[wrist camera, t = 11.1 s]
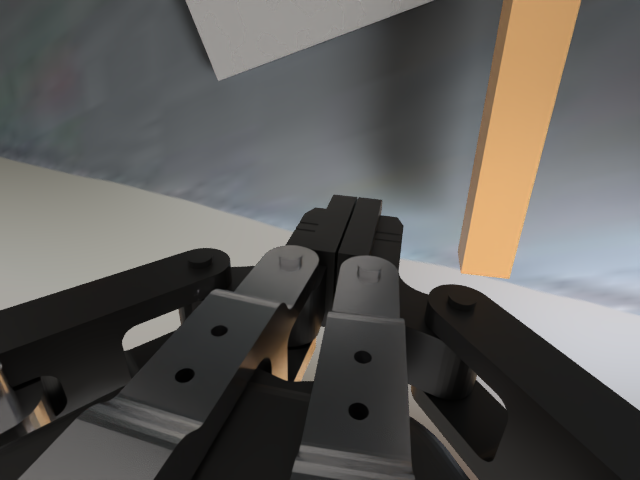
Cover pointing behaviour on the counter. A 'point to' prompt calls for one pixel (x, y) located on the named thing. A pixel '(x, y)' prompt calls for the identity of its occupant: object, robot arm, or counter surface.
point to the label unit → (279, 27)
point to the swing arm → (513, 130)
